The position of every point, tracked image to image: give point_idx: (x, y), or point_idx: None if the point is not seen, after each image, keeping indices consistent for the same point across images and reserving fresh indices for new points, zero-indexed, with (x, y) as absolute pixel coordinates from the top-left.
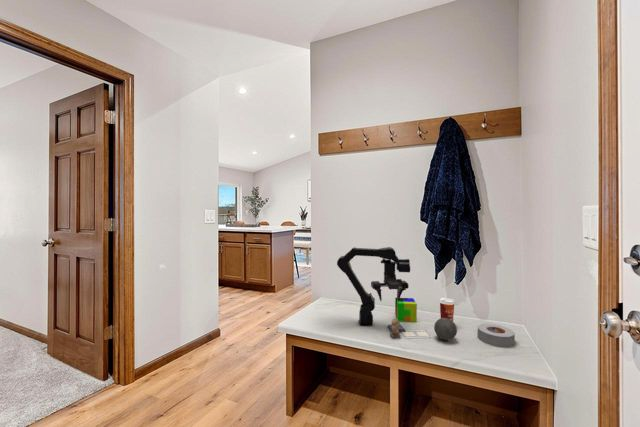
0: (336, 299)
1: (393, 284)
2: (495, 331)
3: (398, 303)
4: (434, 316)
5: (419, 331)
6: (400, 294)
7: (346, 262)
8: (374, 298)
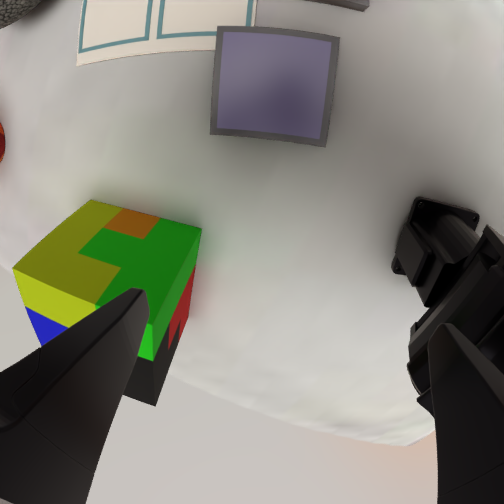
0: (372, 441)
1: None
2: None
3: (147, 323)
4: (20, 251)
5: (116, 42)
6: (34, 360)
7: None
8: (422, 401)
